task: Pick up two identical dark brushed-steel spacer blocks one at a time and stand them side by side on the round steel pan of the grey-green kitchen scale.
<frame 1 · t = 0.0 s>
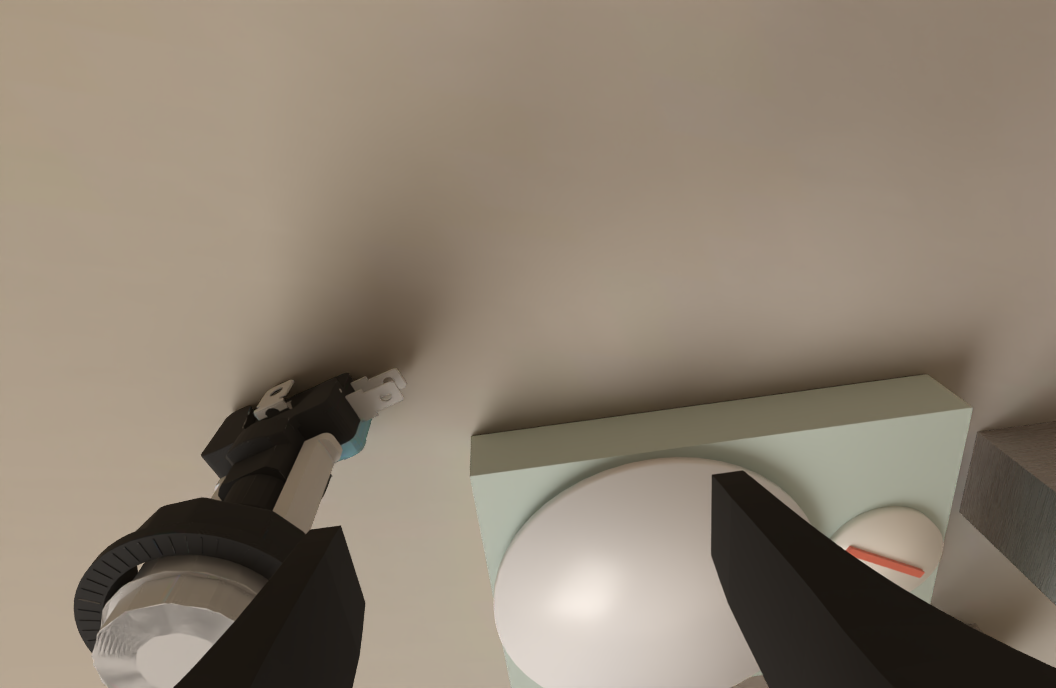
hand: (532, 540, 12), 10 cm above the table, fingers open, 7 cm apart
spacer 2: (1015, 466, 25), on the table
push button: (323, 405, 22), on the table
scale: (699, 530, 26), on the table
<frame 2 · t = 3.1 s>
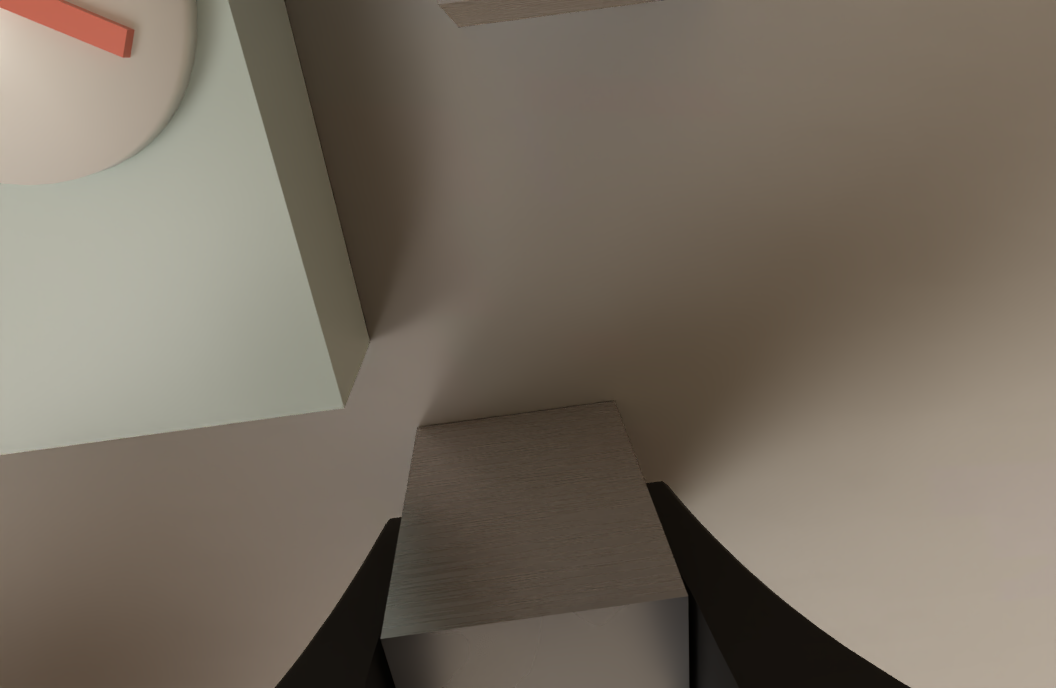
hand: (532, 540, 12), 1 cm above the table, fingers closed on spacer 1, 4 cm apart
spacer 1: (527, 493, 13), on the table, touching gripper
when the fingers open (5 cm above the table, at t = 6.9 s): spacer 1 stays where it is, resting on scale.
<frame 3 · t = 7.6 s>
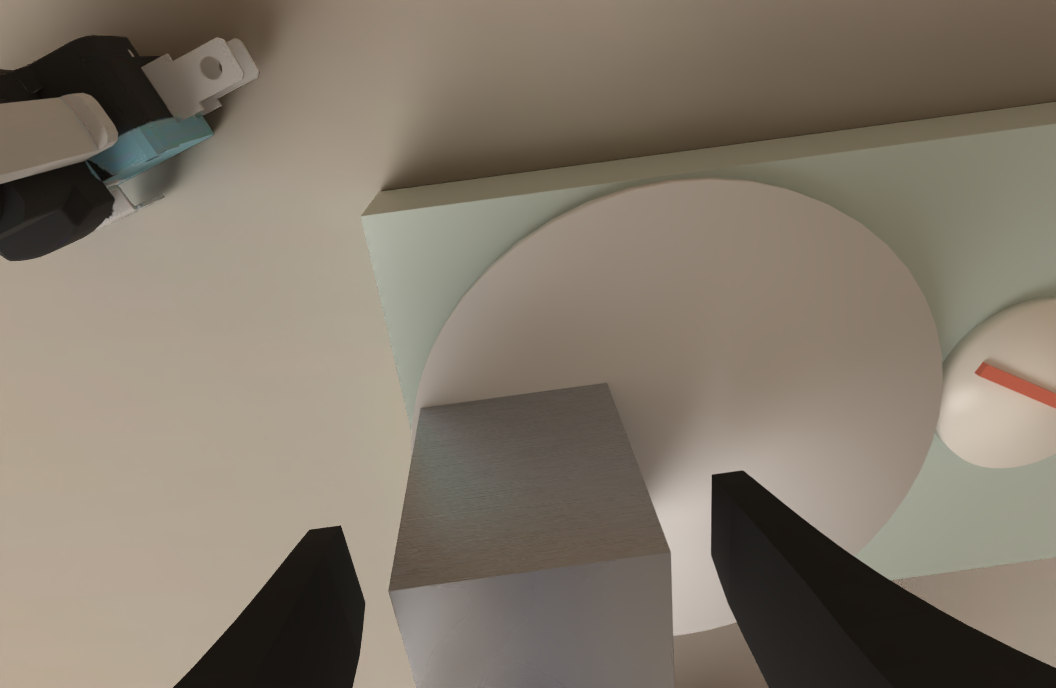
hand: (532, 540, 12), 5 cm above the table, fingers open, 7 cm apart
spacer 1: (525, 471, 14), point 3 cm above the table, touching scale
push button: (135, 128, 14), on the table
scale: (736, 370, 17), on the table
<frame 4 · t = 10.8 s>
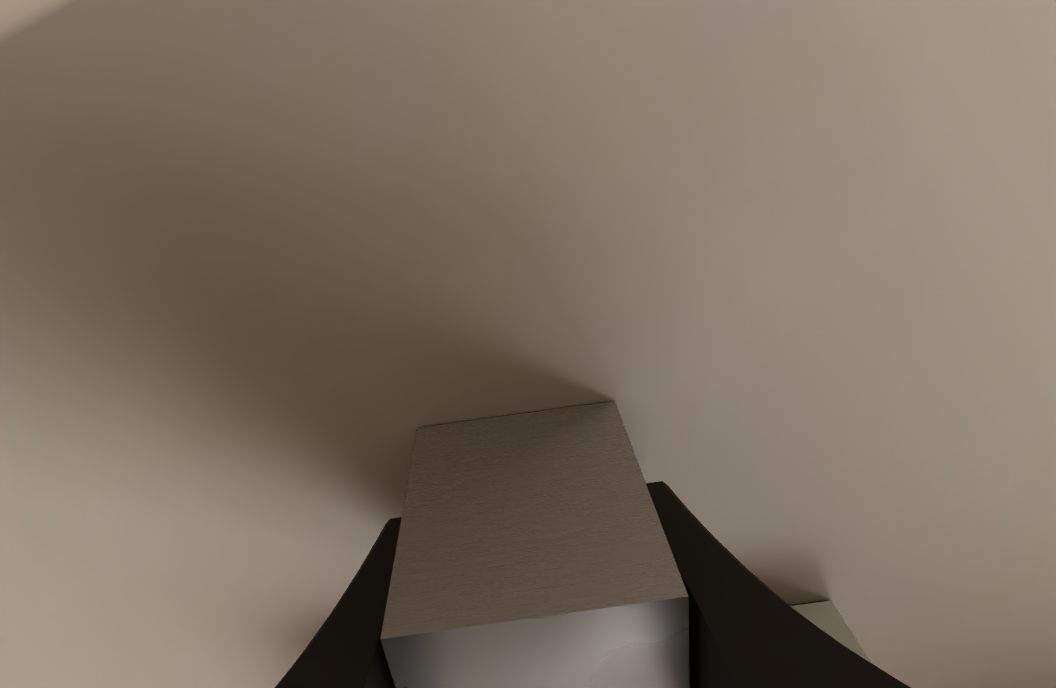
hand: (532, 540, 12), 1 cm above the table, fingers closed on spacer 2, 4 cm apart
spacer 2: (527, 493, 13), on the table, touching gripper
when the fingers open (5 cm above the table, at t = 14.2 s): spacer 2 stays where it is, resting on scale.
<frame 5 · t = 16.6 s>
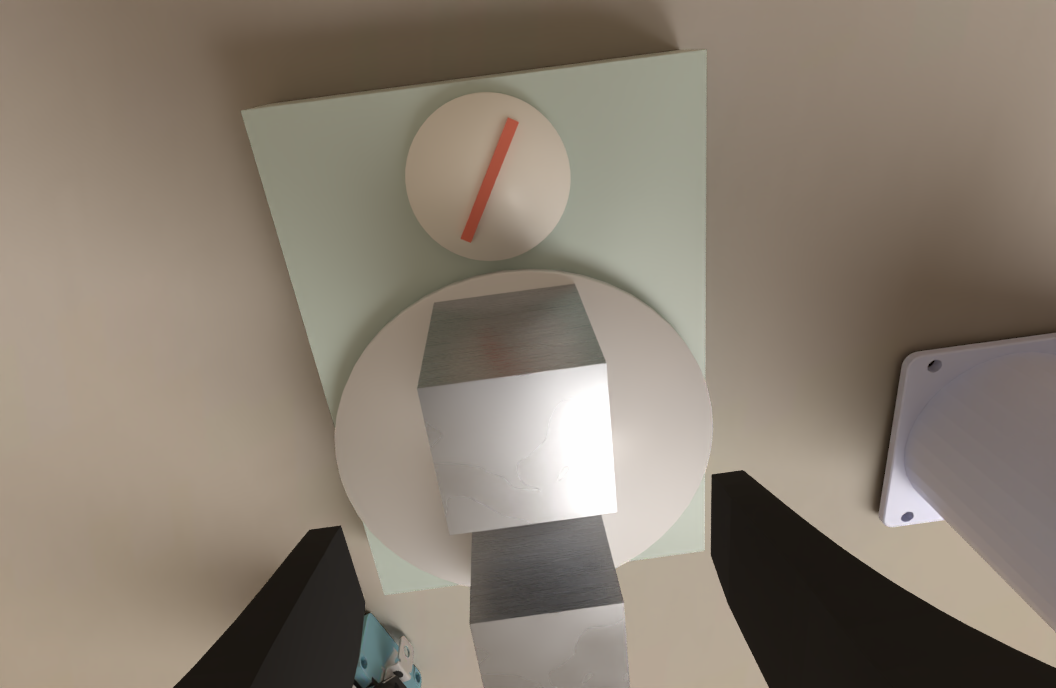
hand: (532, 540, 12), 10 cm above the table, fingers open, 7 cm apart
spacer 2: (513, 355, 18), point 3 cm above the table, touching scale
spacer 1: (539, 536, 21), point 3 cm above the table, touching scale
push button: (372, 636, 28), on the table
scale: (512, 340, 22), on the table
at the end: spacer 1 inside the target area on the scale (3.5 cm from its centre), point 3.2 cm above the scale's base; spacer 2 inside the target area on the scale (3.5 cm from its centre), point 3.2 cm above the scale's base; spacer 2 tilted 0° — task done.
